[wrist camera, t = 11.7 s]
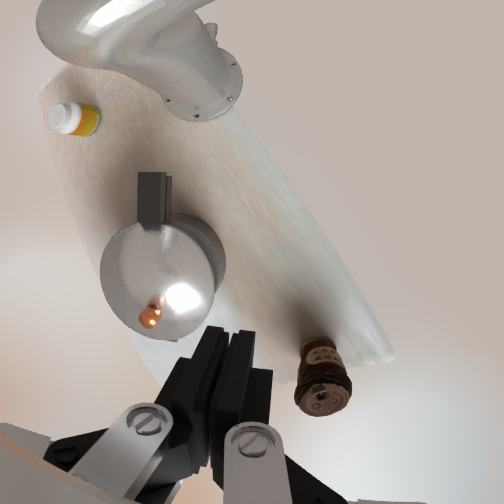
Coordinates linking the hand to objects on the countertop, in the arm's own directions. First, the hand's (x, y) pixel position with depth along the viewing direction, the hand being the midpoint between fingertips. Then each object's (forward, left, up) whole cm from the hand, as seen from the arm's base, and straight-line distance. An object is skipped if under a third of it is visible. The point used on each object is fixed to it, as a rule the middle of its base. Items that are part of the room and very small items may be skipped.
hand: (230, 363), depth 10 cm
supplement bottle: (-15, -32, -35) cm, 50 cm away
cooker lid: (+5, -14, -25) cm, 29 cm away
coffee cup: (+22, +10, -35) cm, 43 cm away
